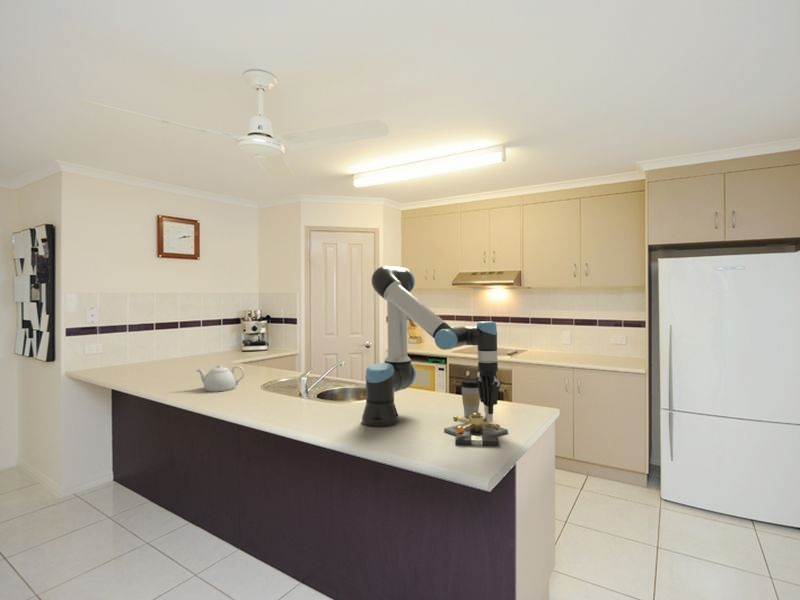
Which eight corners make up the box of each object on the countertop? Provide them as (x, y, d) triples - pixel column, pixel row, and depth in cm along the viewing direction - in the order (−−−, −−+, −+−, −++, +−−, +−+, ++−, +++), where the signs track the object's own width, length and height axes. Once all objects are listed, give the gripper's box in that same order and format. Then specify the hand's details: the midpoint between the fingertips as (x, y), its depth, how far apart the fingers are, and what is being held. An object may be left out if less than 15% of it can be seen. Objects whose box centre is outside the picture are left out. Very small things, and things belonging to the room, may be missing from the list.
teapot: (216, 394, 237) (215, 368, 236) (196, 390, 247) (195, 365, 246) (245, 387, 252) (245, 363, 252) (225, 384, 262) (225, 361, 262)
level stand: (477, 453, 148) (477, 447, 148) (430, 435, 167) (430, 429, 167) (524, 438, 163) (524, 432, 163) (476, 422, 182) (476, 418, 182)
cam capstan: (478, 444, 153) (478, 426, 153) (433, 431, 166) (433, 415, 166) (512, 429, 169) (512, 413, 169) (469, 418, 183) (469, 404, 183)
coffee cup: (467, 419, 187) (467, 384, 186) (456, 414, 195) (455, 380, 195) (486, 417, 190) (486, 382, 190) (474, 411, 199) (474, 378, 199)
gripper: (506, 362, 169) (507, 424, 169) (484, 358, 180) (486, 416, 181) (490, 364, 166) (492, 427, 166) (469, 360, 177) (471, 419, 177)
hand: (489, 421), depth 173 cm, fingers closed
